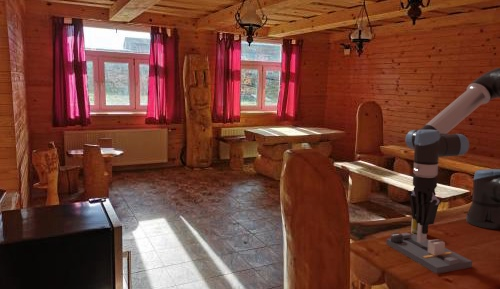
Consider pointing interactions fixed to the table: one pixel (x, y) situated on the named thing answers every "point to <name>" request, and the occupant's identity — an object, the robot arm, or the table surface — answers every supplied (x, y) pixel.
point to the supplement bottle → (414, 227)
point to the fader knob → (436, 246)
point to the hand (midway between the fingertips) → (421, 241)
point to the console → (427, 254)
